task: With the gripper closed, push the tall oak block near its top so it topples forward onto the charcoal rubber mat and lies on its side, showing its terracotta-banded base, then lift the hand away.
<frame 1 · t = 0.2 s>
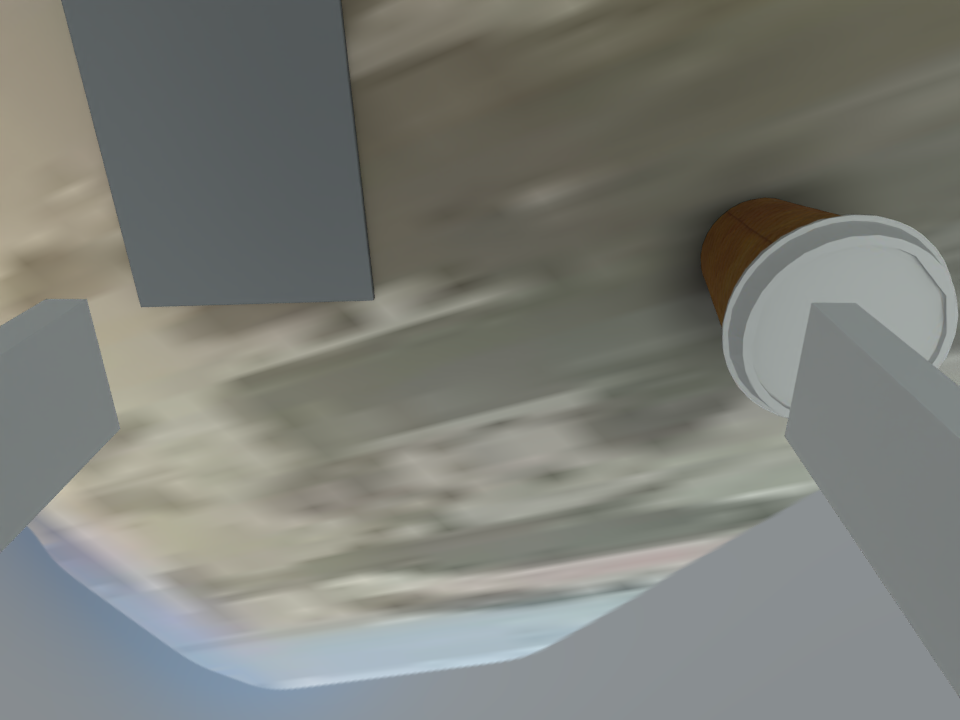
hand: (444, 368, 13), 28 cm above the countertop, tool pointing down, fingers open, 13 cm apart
disposable coffee cup: (755, 252, 40), on the countertop
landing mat: (225, 126, 38), on the countertop
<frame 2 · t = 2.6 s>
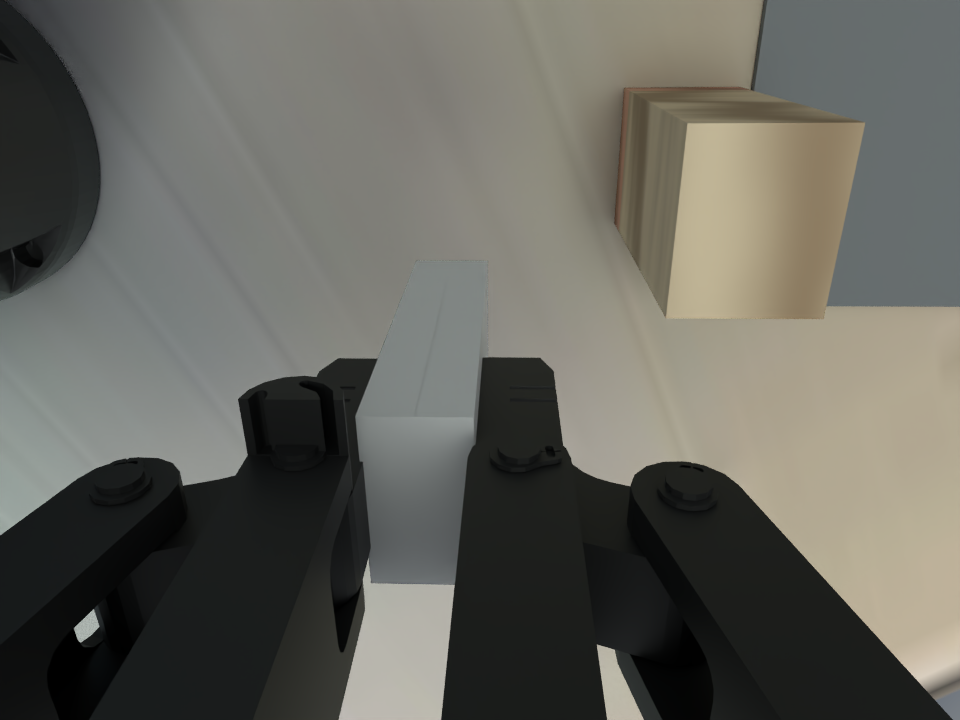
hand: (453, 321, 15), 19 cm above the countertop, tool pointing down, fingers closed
oak block: (674, 157, 32), on the countertop
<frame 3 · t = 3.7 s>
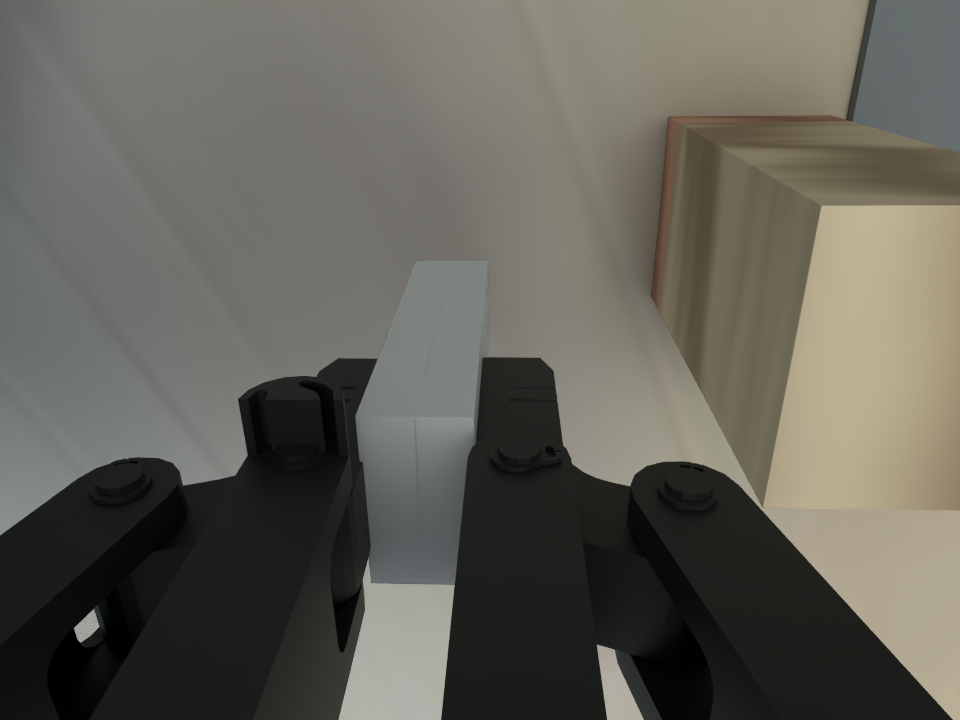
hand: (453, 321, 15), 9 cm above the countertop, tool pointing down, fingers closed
oak block: (735, 211, 24), on the countertop
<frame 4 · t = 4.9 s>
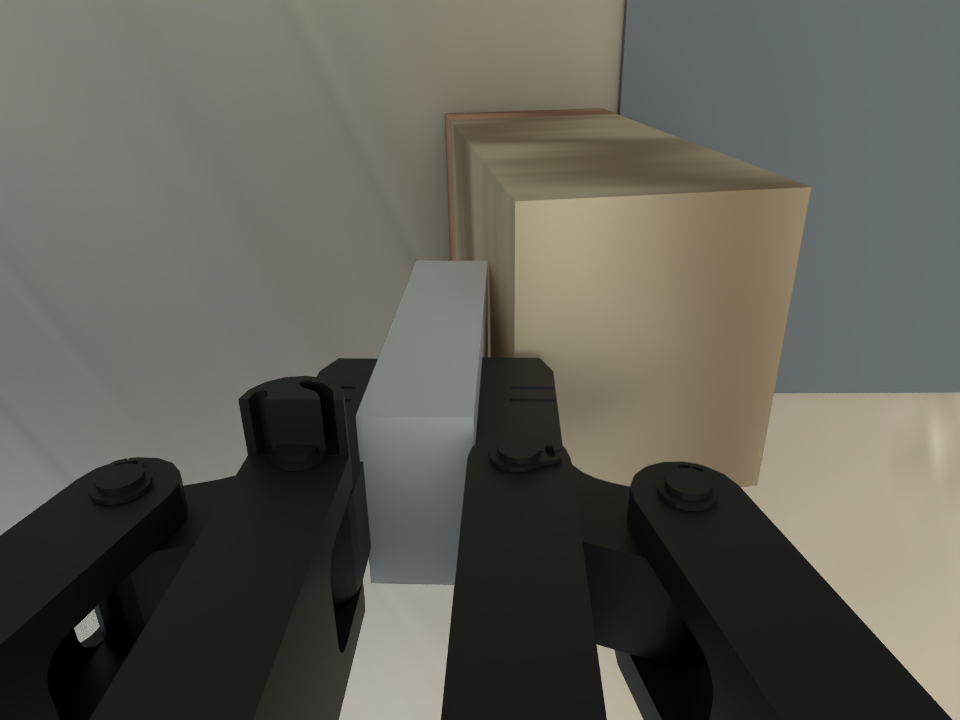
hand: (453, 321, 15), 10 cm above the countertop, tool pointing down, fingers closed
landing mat: (916, 199, 24), on the countertop
oak block: (523, 206, 24), on the countertop, tilted 9°, touching gripper
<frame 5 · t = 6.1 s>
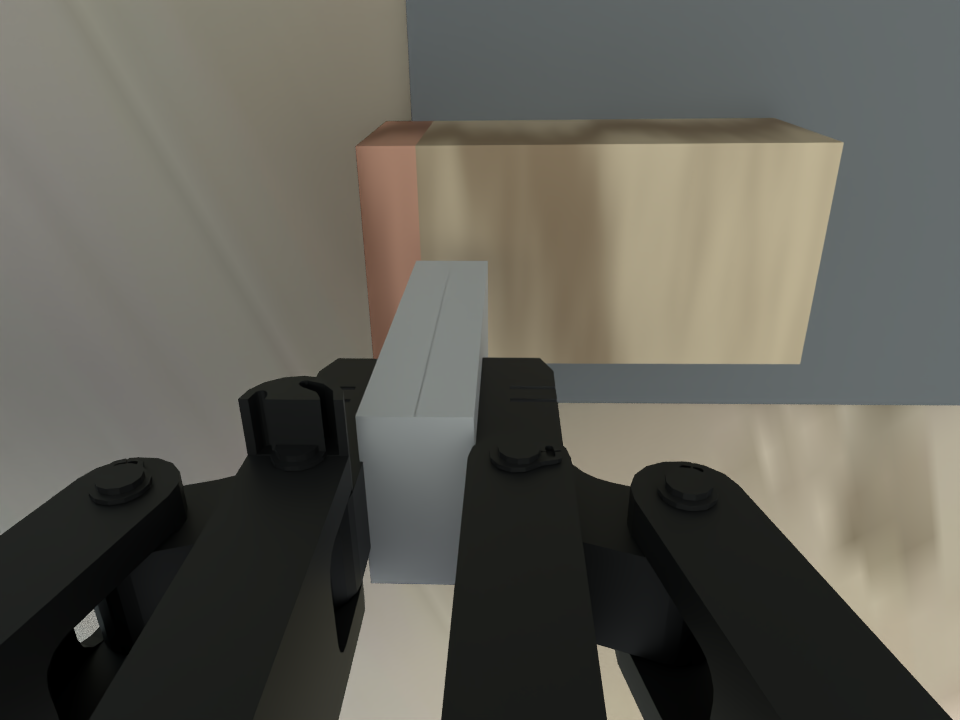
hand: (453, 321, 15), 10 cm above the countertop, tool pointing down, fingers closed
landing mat: (718, 211, 24), on the countertop
oak block: (380, 236, 21), point 3 cm above the countertop, tilted 90°, touching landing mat
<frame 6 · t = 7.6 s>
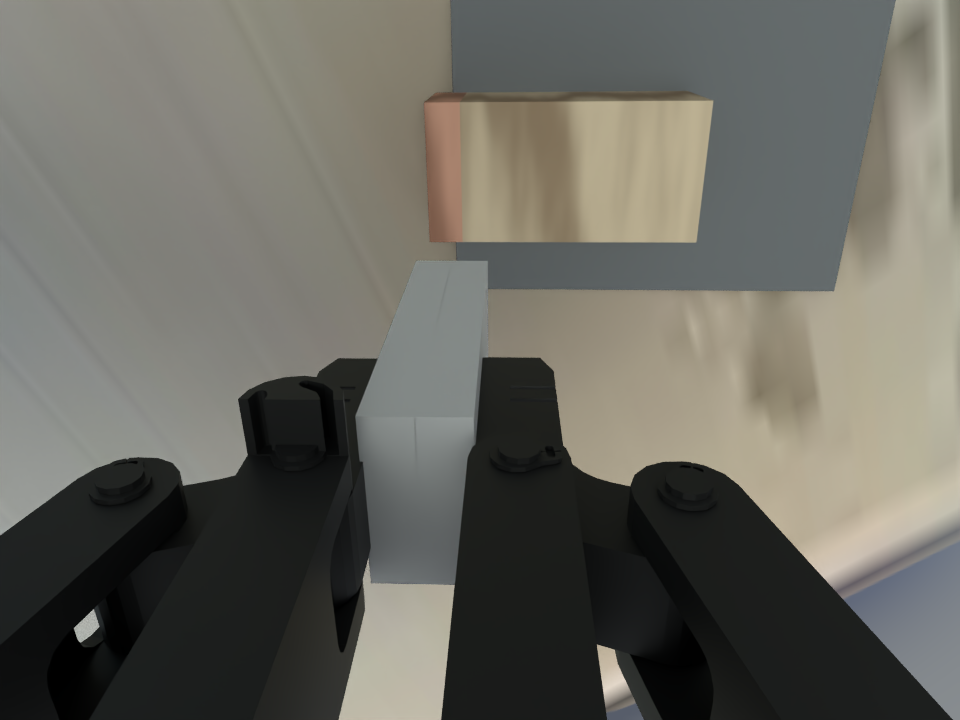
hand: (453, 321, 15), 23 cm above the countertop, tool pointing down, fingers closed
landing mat: (654, 154, 36), on the countertop
oak block: (433, 165, 34), point 3 cm above the countertop, tilted 90°, touching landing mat
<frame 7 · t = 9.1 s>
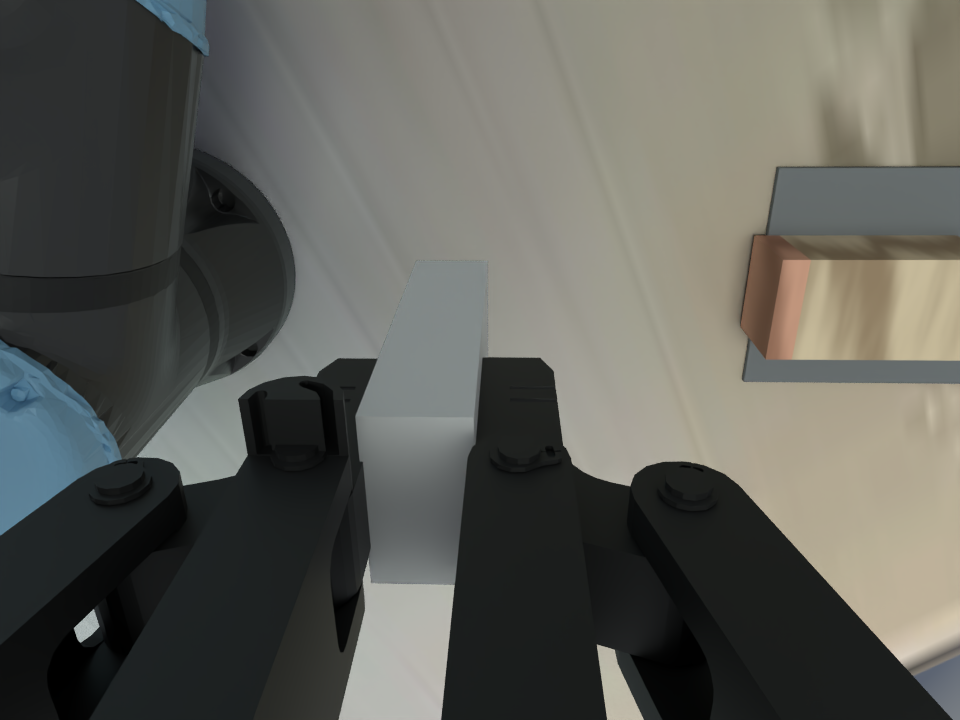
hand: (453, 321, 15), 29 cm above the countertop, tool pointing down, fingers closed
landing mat: (920, 280, 45), on the countertop
oak block: (759, 296, 43), point 3 cm above the countertop, tilted 90°, touching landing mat
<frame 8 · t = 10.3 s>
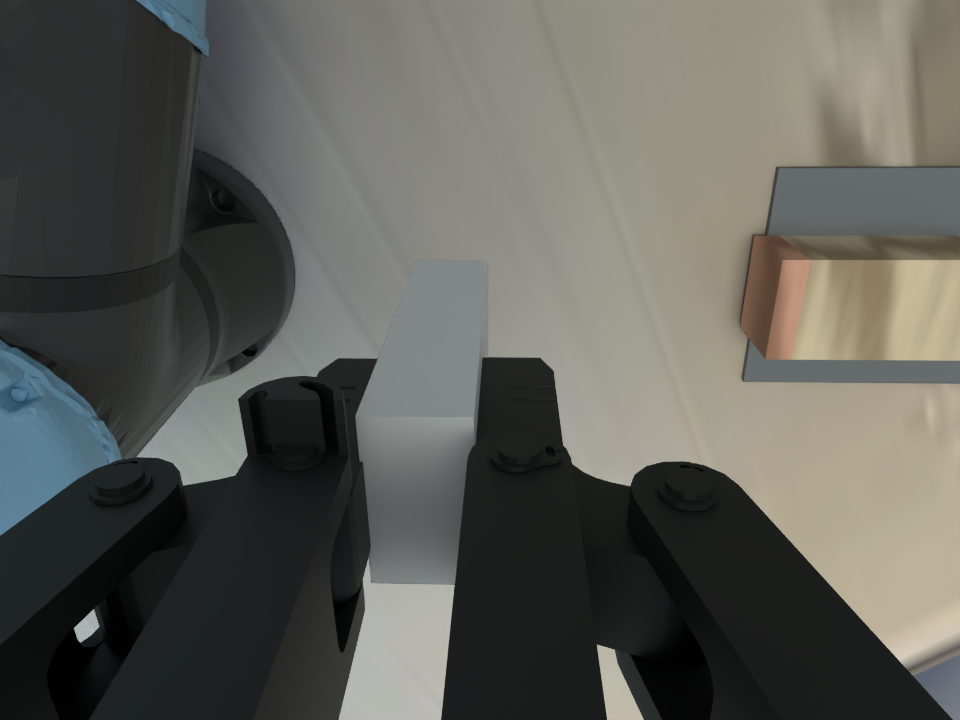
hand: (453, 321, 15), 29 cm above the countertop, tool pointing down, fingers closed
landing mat: (919, 280, 45), on the countertop
oak block: (759, 296, 43), point 3 cm above the countertop, tilted 90°, touching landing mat
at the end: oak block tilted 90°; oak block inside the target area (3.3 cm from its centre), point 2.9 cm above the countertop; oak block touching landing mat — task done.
